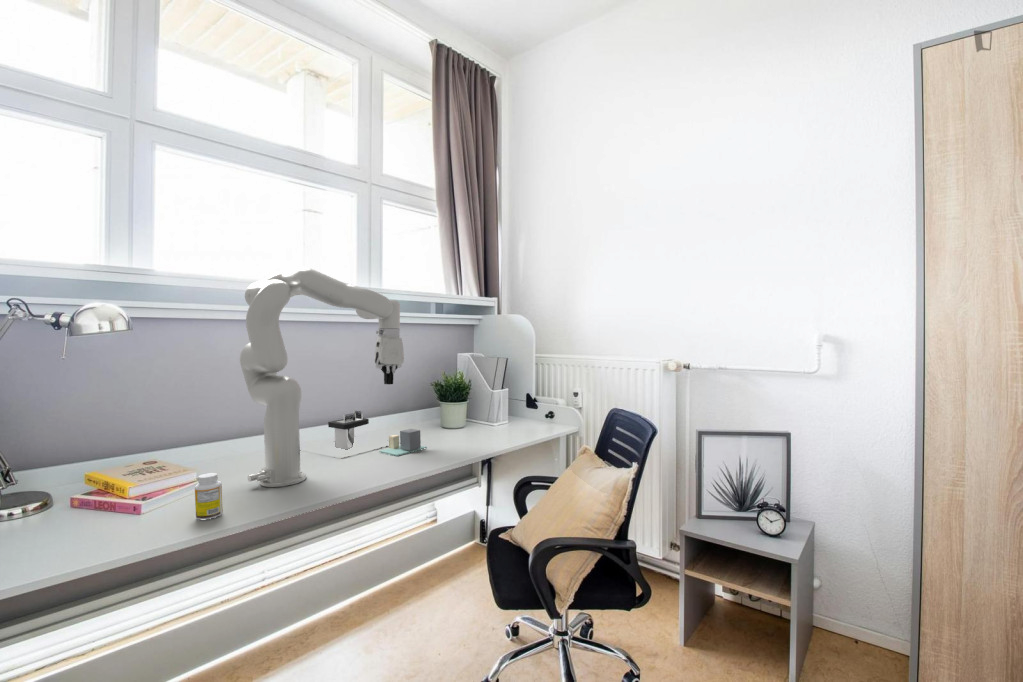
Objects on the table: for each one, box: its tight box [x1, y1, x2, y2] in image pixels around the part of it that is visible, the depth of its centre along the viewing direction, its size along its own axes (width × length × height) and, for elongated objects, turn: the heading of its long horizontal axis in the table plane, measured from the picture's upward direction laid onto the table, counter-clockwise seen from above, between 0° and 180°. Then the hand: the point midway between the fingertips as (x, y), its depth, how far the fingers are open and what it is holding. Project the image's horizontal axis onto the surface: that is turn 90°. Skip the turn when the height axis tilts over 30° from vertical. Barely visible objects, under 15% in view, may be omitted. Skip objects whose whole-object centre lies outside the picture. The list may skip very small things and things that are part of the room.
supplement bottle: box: [194, 472, 224, 520], centre depth 117 cm, size 6×6×10 cm
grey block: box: [399, 428, 422, 451], centre depth 179 cm, size 5×5×7 cm
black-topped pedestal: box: [327, 409, 370, 450], centre depth 188 cm, size 28×26×13 cm
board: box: [379, 434, 428, 457], centre depth 180 cm, size 14×10×5 cm
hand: (388, 384), depth 176 cm, fingers closed
